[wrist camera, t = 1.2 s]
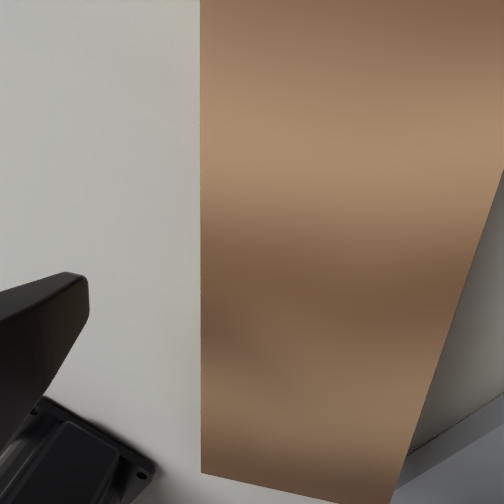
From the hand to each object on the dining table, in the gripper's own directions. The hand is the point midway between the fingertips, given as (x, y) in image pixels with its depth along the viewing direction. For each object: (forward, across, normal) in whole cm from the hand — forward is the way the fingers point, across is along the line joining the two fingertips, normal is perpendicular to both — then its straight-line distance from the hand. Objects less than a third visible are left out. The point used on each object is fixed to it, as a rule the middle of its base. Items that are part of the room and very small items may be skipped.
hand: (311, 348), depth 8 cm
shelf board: (+6, 0, 0) cm, 6 cm away
